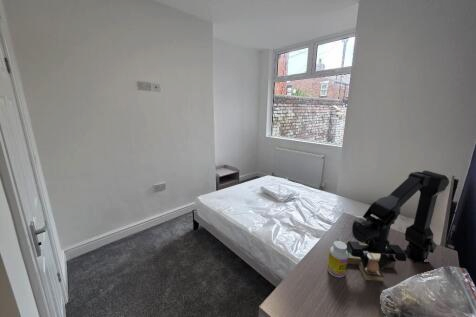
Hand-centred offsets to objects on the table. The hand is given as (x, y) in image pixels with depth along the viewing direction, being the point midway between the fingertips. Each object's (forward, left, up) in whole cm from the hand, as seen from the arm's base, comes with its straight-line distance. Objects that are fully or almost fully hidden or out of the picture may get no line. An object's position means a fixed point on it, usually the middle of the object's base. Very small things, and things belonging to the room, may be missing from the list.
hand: (371, 268), depth 78 cm
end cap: (-9, -26, -3) cm, 28 cm away
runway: (-2, -9, -3) cm, 10 cm away
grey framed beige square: (0, 0, -3) cm, 3 cm away
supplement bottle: (+13, +1, -3) cm, 13 cm away
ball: (0, 0, +1) cm, 1 cm away
